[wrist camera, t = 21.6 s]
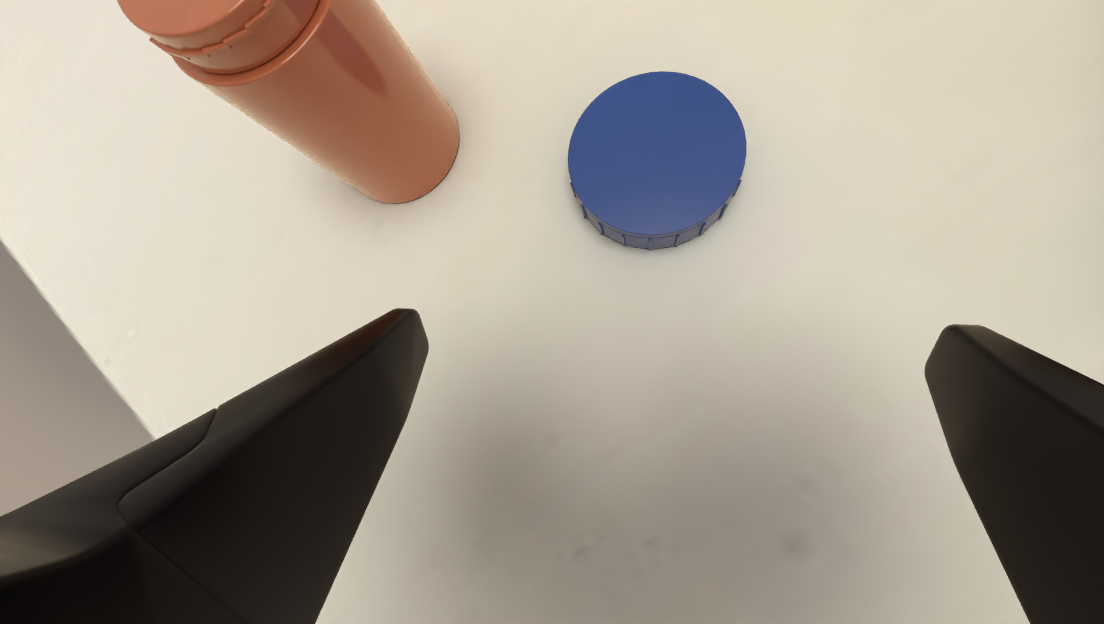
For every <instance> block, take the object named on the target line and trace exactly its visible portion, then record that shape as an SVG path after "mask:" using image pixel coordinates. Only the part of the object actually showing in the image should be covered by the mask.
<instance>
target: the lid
mask: <svg viewBox="0 0 1104 624" xmlns="http://www.w3.org/2000/svg"><path fill="white" fill-rule="evenodd" d="M745 158H746V137H745V131H744V128H743V125H742V121H741V119H740V117H739V115H738V113H737V111H736V110H735V108H734V107H733V105H732V104H731V102H730V101H729V100H728V99H727V98H726V97H725V96H724V95H723V94H722V93H721V92H720V91H719V90H717V89H716V88H715V87H713V86H712V85H710V84H709V83H707V82H705V81H703V80H701V79H698V78H696V77H693V76H690V75H687V74H682V73H676V72H650V73H645V74H639V75H636V76H633V77H630V78H627V79H625V80H623V81H620V82H618V83H616V84H615V85H613V86H611V87H610V88H608V89H607V90H605V91H604V92H603V93H601V94H600V95H599V96H598V97H597V98H596V99H595V100H594V101H592V102H591V104H590V105H589V106H588V107H587V108H586V110H585V111H584V112H583V114H582V115H581V117H580V119H579V120H578V122H577V124H576V126H575V128H574V131H573V134H572V137H571V140H570V145H569V151H568V166H569V173H570V178H571V183H570V184H571V187H572V190H573V192H574V195H575V197H577V198H578V201H579V203H580V206H581V209H582V212H583V214H584V217H585V218H588V219H589V220H590V222H591V223H592V224H593V225H594V226H595V227H596V228H597V229H598V230H599V231H600V233H601V235H603V234H604V235H606V236H607V237H609V238H611V239H613V240H615V241H617V242H619V243H622V244H623V246H625V245H628V246H632V247H637V248H645V249H648V250H651V249H657V248H665V247H670V246H674V245H675V247H677V246H678V244H681V243H683V242H686V241H689V240H690V239H692V238H694V237H696V236H698V235H700V236H701V235H702V234H703V232H704V231H705V230H706V229H708V228H709V227H710V226H711V225H712V224H713V223H714V222H715V221H716V220H717V219H718V218H719V217H720V218H721V217H722V216H723V214H724V212H725V209H726V207H727V205H728V203H729V201H730V199H731V197H732V195H733V196H734V195H735V193H736V191H737V189H738V187H739V185H740V183H741V180H739V179H740V177H741V175H742V172H743V168H744V165H745Z"/></svg>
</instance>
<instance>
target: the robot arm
mask: <svg viewBox="0 0 1104 624" xmlns="http://www.w3.org/2000/svg"><path fill="white" fill-rule="evenodd" d="M428 348H429V345H428V339H427V336H426V333H425V330H424V327H423V324H422V321H421V318H420V315H419V313H418V312H417V311H416V310H414V309H401V308H397V309H394V310H392V311H390V312H388V313H386V314H384V315H383V316H381V317H379V318H377V319H375V320H373V321H372V322H370V323H368V324H366V325H364V326H363V327H361V328H359V329H357V330H355V331H354V332H352V333H350V334H348V335H346V336H345V337H343V338H341V339H339V340H337V341H335V342H334V343H332V344H330V345H328V346H326V347H325V348H323V349H321V350H319V351H317V352H316V353H314V354H312V355H310V356H308V357H307V358H305V359H303V360H301V361H299V362H297V363H296V364H294V365H292V366H290V367H288V368H287V369H285V370H283V371H281V372H279V373H278V374H276V375H274V376H272V377H270V378H269V379H267V380H265V381H263V382H261V383H259V384H258V385H256V386H254V387H252V388H250V389H249V390H247V391H245V392H243V393H241V394H240V395H238V396H236V397H234V398H232V399H231V400H229V401H227V402H225V403H223V404H222V405H220V406H219V407H218V409H212V410H210V411H209V412H207V413H205V414H203V415H201V416H200V417H198V418H196V419H194V420H192V421H191V422H189V423H187V424H185V425H183V426H181V427H179V428H177V429H176V430H174V431H172V432H170V433H168V434H166V435H164V436H163V437H161V438H159V439H157V440H155V441H153V442H151V443H149V444H147V445H145V446H143V447H141V448H140V449H137V450H135V451H133V452H131V453H129V454H127V455H125V456H124V457H122V458H119V459H117V460H116V461H113V462H112V463H110V464H107V465H105V466H103V467H101V468H99V469H97V470H95V471H93V472H92V473H89V474H87V475H85V476H83V477H81V478H79V479H77V480H75V481H73V482H71V483H69V484H67V485H65V486H63V487H61V488H59V489H57V490H55V491H53V492H51V493H49V494H47V495H45V496H42V497H40V498H38V499H37V500H34V501H32V502H30V503H28V504H26V505H24V506H22V507H20V508H18V509H16V510H14V511H12V512H9V513H8V514H5V515H3V516H1V517H0V624H315V623H316V620H317V618H318V616H319V614H320V611H321V609H322V607H323V605H324V603H325V600H326V598H327V596H328V594H329V591H330V589H331V587H332V585H333V582H334V580H335V578H336V576H337V573H338V571H339V569H340V567H341V565H342V562H343V560H344V558H345V556H346V553H347V551H348V549H349V547H350V544H351V542H352V540H353V538H354V535H355V533H356V531H357V529H358V527H359V524H360V522H361V520H362V518H363V515H364V513H365V511H366V509H367V506H368V504H369V502H370V500H371V497H372V495H373V493H374V491H375V489H376V486H377V484H378V482H379V480H380V477H381V475H382V473H383V471H384V468H385V466H386V464H387V462H388V459H389V457H390V455H391V453H392V451H393V448H394V446H395V444H396V442H397V439H398V437H399V435H400V433H401V430H402V428H403V426H404V423H405V421H406V419H407V416H408V413H409V410H410V407H411V404H412V401H413V398H414V395H415V392H416V389H417V385H418V382H419V379H420V376H421V373H422V370H423V367H424V364H425V360H426V357H427V354H428ZM925 378H926V381H927V384H928V387H929V390H930V393H931V396H932V399H933V402H934V405H935V408H936V411H937V414H938V417H939V420H940V423H941V426H942V429H943V432H944V435H945V438H946V441H947V444H948V447H949V450H950V453H951V456H952V458H953V461H954V463H955V466H956V468H957V470H958V472H959V475H960V477H961V479H962V481H963V483H964V485H965V488H966V490H967V492H968V494H969V496H970V498H971V500H972V502H973V504H974V507H975V509H976V511H977V513H978V515H979V517H980V519H981V521H982V523H983V525H984V528H985V530H986V532H987V534H988V536H989V538H990V540H991V542H992V544H993V547H994V549H995V551H996V553H997V555H998V557H999V559H1000V561H1001V563H1002V565H1003V568H1004V570H1005V572H1006V574H1007V576H1008V578H1009V580H1010V582H1011V584H1012V587H1013V589H1014V591H1015V593H1016V595H1017V597H1018V599H1019V601H1020V603H1021V605H1022V608H1023V610H1024V612H1025V614H1026V616H1027V618H1028V620H1029V622H1030V624H1104V385H1103V384H1101V383H1099V382H1097V381H1095V380H1093V379H1091V378H1089V377H1087V376H1085V375H1083V374H1081V373H1079V372H1076V371H1074V370H1072V369H1070V368H1068V367H1066V366H1064V365H1062V364H1060V363H1058V362H1056V361H1054V360H1052V359H1050V358H1048V357H1046V356H1044V355H1041V354H1039V353H1037V352H1035V351H1033V350H1031V349H1029V348H1027V347H1025V346H1023V345H1021V344H1019V343H1017V342H1015V341H1013V340H1011V339H1009V338H1006V337H1004V336H1002V335H1000V334H998V333H996V332H994V331H992V330H990V329H988V328H986V327H983V326H980V325H958V324H953V325H949V326H947V327H946V328H944V329H943V331H942V332H941V334H940V336H939V338H938V340H937V342H936V344H935V346H934V348H933V350H932V352H931V354H930V356H929V358H928V360H927V362H926V365H925Z"/></svg>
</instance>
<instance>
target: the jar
mask: <svg viewBox="0 0 1104 624" xmlns="http://www.w3.org/2000/svg"><path fill="white" fill-rule="evenodd" d="M117 1H118V4H119V6H120V7H121V9H122V11H123V13H124V14H125V15H126V17H127V18H128V19H129V20H130V22H132V23H133V24H134V25H135V26H136V27H137V28H139V29H140V30H141V31H143V32H144V33H146V34H147V35H149V36H150V37H151V38H150V41H151V42H152V43H154V44H155V45H157V46H158V47H159V48H161V49H162V50H163V51H165V52H166V53H168V54H169V55H171V56H172V58H173V59H174V61H175V62H176V64H177V65H178V66H179V67H180V69H181V70H182V71H183V72H185V73H186V74H187V75H188V76H189V77H191V78H192V79H194V80H195V81H197V82H198V83H200V84H201V85H203V86H204V87H206V88H207V89H209V90H210V91H212V92H213V93H215V94H216V95H218V96H219V97H220V98H222V99H223V100H225V101H226V102H228V103H229V104H231V105H232V106H234V107H235V108H237V109H238V110H240V111H241V112H243V113H244V114H246V115H247V116H249V117H250V118H252V119H253V120H254V121H256V122H257V123H259V124H260V125H262V126H263V127H265V128H266V129H268V130H269V131H271V132H272V133H274V134H275V135H277V136H278V137H280V138H281V139H283V140H284V141H286V142H287V143H289V144H290V145H291V146H293V147H294V148H296V149H297V150H299V151H300V152H302V153H303V154H305V155H306V156H308V157H309V158H311V159H312V160H314V161H315V162H317V163H318V164H320V165H321V166H323V167H324V168H326V169H327V170H328V171H330V172H331V173H333V174H334V175H336V176H337V177H339V178H340V179H342V180H343V181H345V182H346V183H348V184H349V185H351V186H352V187H354V188H355V189H357V190H358V191H360V192H361V193H363V194H364V195H366V196H367V197H369V198H371V199H373V200H375V201H379V202H383V203H391V204H392V203H404V202H408V201H411V200H415V199H417V198H419V197H421V196H423V195H425V194H426V193H428V192H429V191H431V190H432V189H433V188H435V187H436V186H437V185H438V184H439V183H440V182H441V181H442V179H443V178H444V177H445V176H446V174H447V173H448V171H449V170H450V168H451V166H452V164H453V162H454V160H455V157H456V154H457V150H458V144H459V128H458V123H457V120H456V117H455V114H454V112H453V111H452V109H451V107H450V106H449V104H448V103H447V102H446V100H445V99H444V97H443V96H442V94H441V93H440V92H439V90H438V89H437V87H436V86H435V84H434V83H433V82H432V80H431V79H430V77H429V76H428V74H427V73H426V72H425V70H424V69H423V67H422V66H421V65H420V63H419V62H418V60H417V59H416V57H415V56H414V55H413V53H412V52H411V50H410V49H409V47H408V46H407V45H406V43H405V42H404V40H403V39H402V37H401V36H400V35H399V33H398V32H397V30H396V29H395V27H394V26H393V25H392V23H391V22H390V20H389V19H388V18H387V16H386V15H385V13H384V12H383V10H382V9H381V8H380V6H379V5H378V3H377V2H376V0H117Z"/></svg>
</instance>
